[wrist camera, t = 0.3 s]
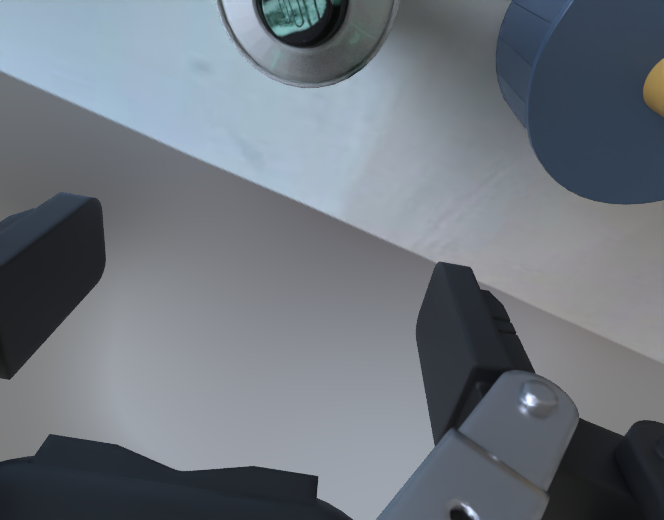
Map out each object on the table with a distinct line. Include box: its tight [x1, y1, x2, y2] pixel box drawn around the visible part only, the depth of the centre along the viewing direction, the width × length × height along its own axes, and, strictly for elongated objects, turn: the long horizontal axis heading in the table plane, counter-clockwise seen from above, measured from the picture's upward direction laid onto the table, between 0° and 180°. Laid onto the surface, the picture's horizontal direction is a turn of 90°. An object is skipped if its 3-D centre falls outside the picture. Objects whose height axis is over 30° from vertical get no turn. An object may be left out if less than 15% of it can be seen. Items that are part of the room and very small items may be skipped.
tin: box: [496, 0, 567, 129], centre depth 26 cm, size 13×13×8 cm
